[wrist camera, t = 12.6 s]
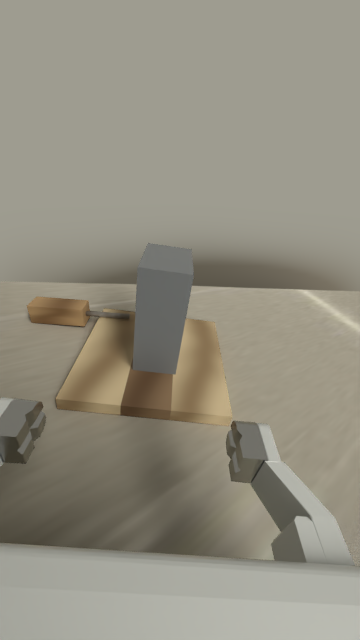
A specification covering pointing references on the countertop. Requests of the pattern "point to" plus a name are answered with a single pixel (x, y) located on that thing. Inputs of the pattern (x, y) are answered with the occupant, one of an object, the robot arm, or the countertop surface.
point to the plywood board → (148, 376)
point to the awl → (65, 311)
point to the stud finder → (161, 307)
